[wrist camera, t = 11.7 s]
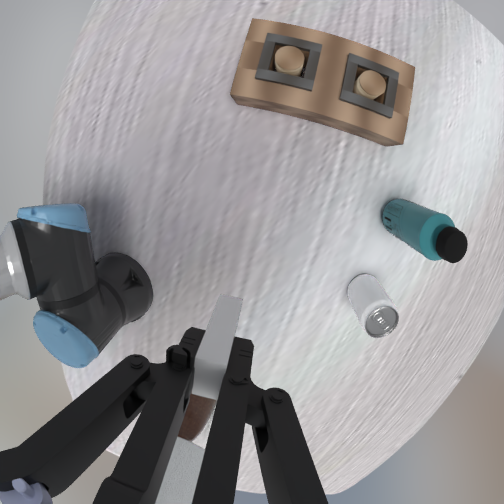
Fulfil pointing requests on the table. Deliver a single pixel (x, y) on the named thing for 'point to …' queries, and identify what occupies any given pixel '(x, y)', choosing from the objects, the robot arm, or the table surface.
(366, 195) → the table surface
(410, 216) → the beverage bottle
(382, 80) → the peg
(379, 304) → the can
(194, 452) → the lamp
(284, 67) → the peg
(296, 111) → the walnut block
